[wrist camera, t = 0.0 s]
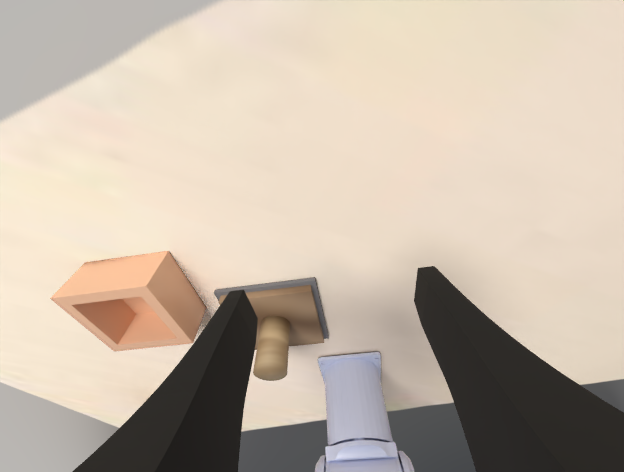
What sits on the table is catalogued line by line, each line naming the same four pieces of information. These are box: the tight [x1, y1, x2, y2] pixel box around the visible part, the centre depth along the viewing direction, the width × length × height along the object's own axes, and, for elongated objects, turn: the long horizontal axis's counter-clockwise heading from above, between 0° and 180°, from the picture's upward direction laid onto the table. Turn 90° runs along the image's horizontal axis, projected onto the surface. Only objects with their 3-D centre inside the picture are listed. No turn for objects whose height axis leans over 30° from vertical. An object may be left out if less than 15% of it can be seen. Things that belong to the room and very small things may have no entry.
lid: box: [219, 285, 324, 381], centre depth 26 cm, size 9×9×6 cm
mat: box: [214, 278, 328, 339], centre depth 28 cm, size 10×10×1 cm
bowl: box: [50, 251, 206, 351], centre depth 24 cm, size 8×8×4 cm
